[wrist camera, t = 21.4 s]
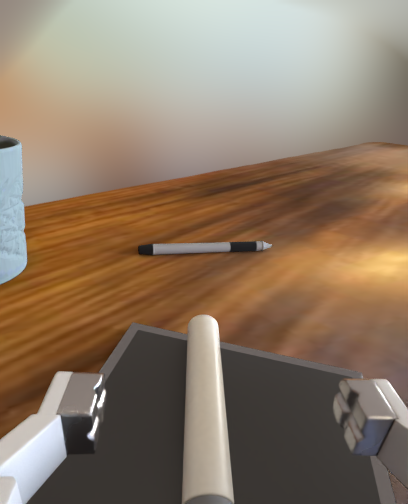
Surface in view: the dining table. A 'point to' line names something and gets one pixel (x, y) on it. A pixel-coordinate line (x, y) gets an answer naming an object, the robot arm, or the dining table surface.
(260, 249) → the pen
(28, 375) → the dining table surface
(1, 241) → the grey embossed cup
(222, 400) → the white cylindrical rod
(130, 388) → the tablet
